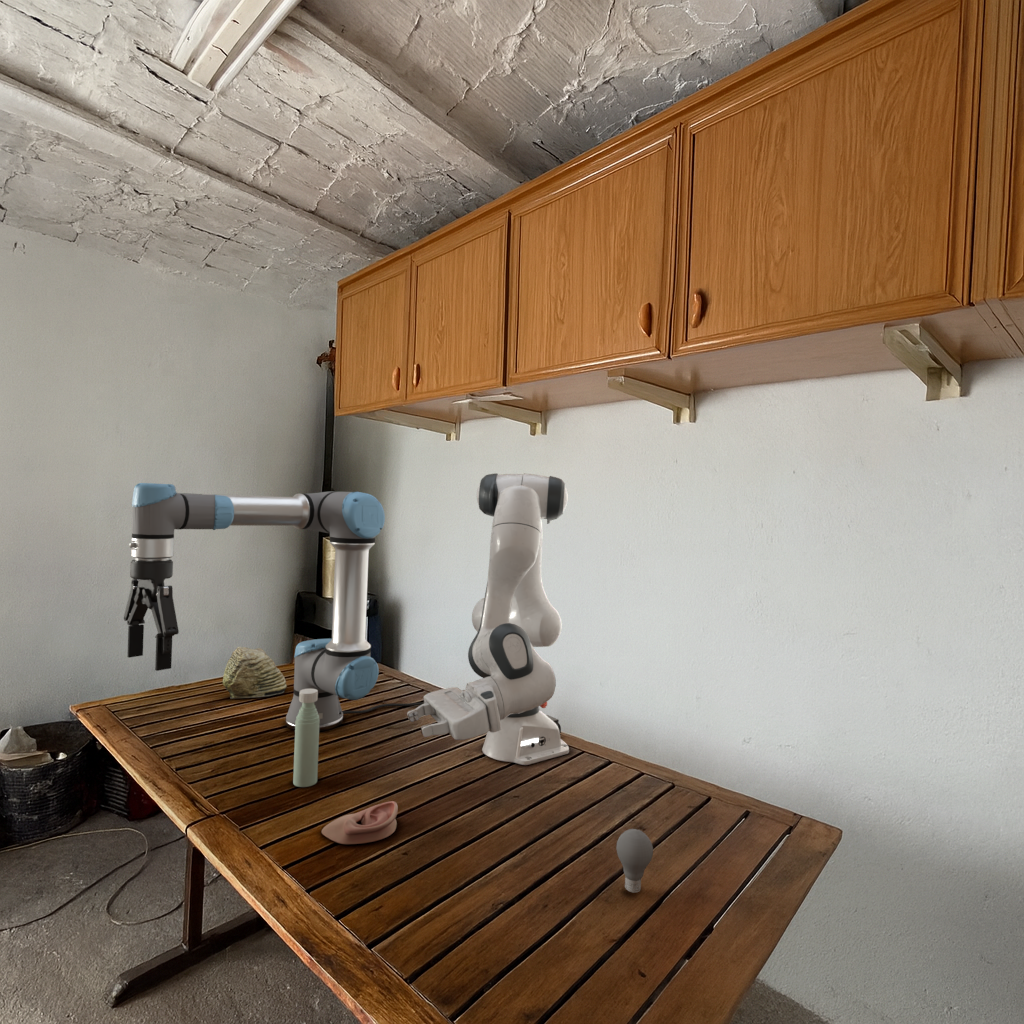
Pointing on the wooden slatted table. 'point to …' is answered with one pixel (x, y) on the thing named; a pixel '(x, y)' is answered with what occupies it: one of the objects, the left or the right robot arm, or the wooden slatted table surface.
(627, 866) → the light bulb
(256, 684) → the fossil
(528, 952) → the wooden slatted table surface
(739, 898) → the wooden slatted table surface
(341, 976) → the wooden slatted table surface
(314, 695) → the cap
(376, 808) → the anatomical model
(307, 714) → the bottle
